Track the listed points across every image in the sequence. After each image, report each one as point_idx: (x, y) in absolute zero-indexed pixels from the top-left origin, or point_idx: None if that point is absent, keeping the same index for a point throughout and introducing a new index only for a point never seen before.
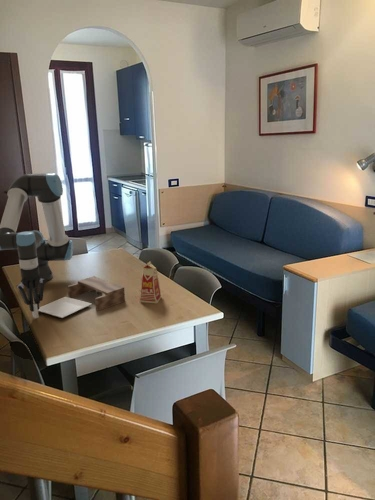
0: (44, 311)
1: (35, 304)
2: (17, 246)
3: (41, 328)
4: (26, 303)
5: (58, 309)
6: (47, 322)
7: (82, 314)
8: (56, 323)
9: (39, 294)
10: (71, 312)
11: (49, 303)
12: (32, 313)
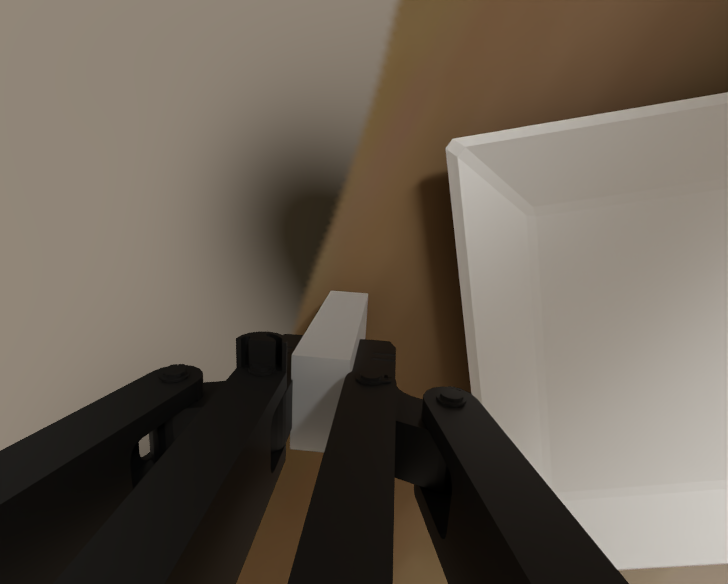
0: (486, 297)
1: (319, 450)
2: None
3: (280, 525)
4: (147, 462)
5: (655, 312)
6: None
7: (699, 578)
8: (420, 544)
9: (453, 524)
10: (667, 492)
11: (707, 109)
12: (323, 306)
